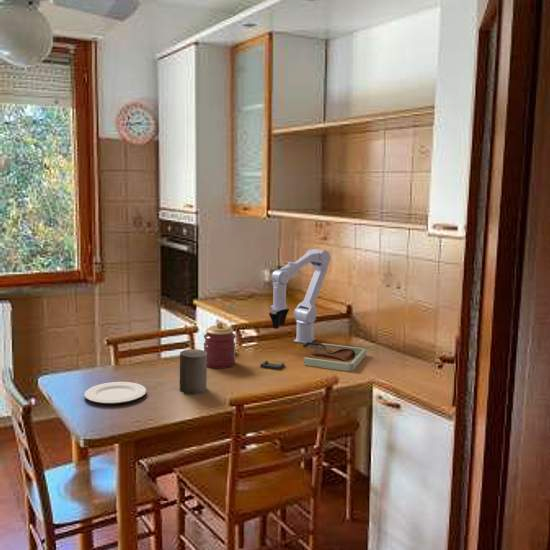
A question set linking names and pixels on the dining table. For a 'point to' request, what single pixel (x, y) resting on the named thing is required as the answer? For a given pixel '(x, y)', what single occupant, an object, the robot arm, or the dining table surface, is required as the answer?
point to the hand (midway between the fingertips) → (278, 326)
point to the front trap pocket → (272, 365)
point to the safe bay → (338, 365)
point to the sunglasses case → (334, 352)
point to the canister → (220, 346)
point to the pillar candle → (193, 371)
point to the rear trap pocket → (310, 344)
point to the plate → (115, 392)
